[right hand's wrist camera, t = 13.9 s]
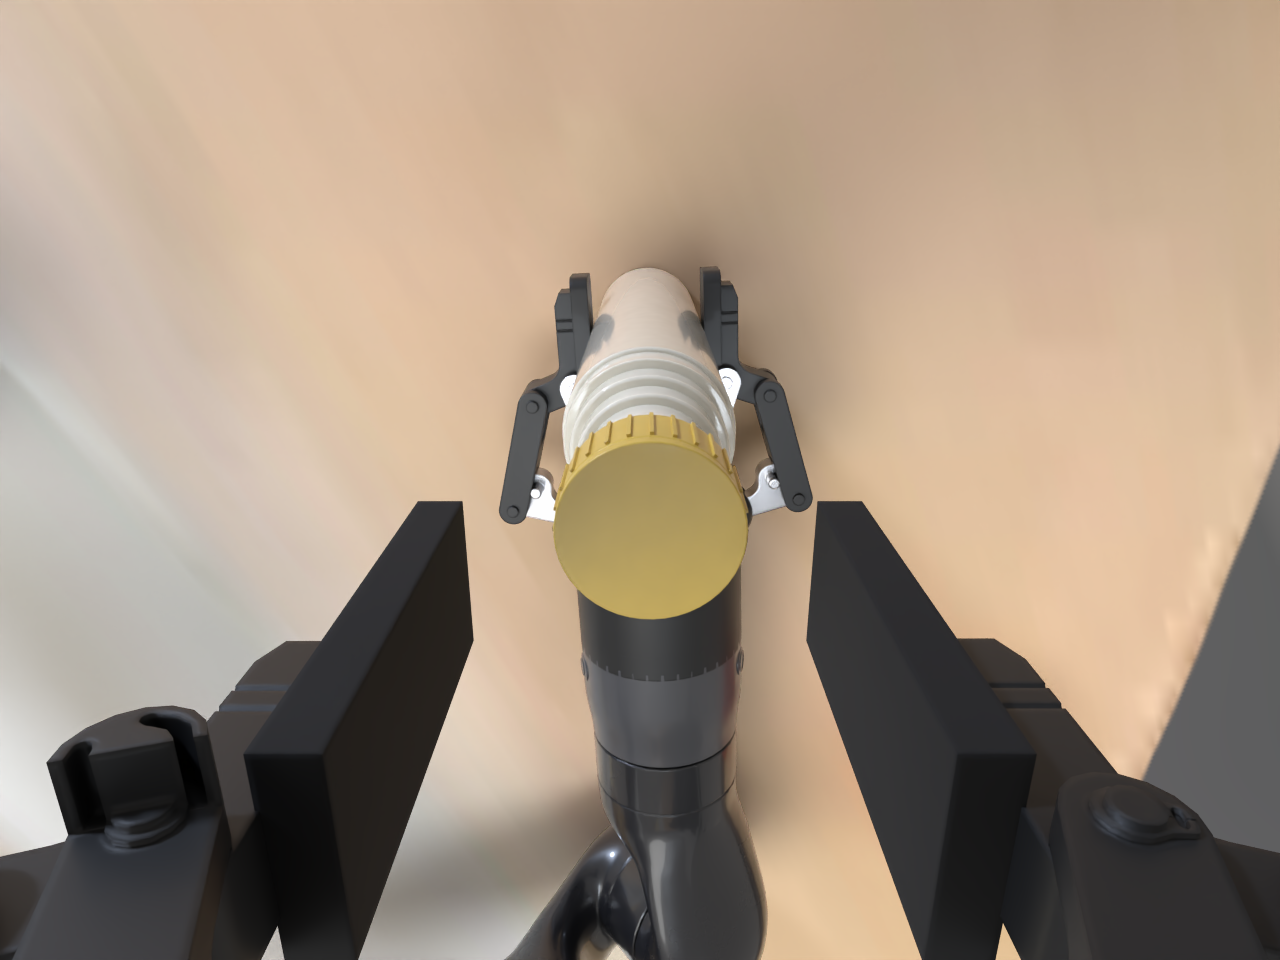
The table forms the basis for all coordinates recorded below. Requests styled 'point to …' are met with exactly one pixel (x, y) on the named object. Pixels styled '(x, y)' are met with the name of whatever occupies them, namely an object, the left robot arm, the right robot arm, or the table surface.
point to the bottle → (648, 363)
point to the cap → (650, 517)
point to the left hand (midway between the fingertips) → (645, 274)
